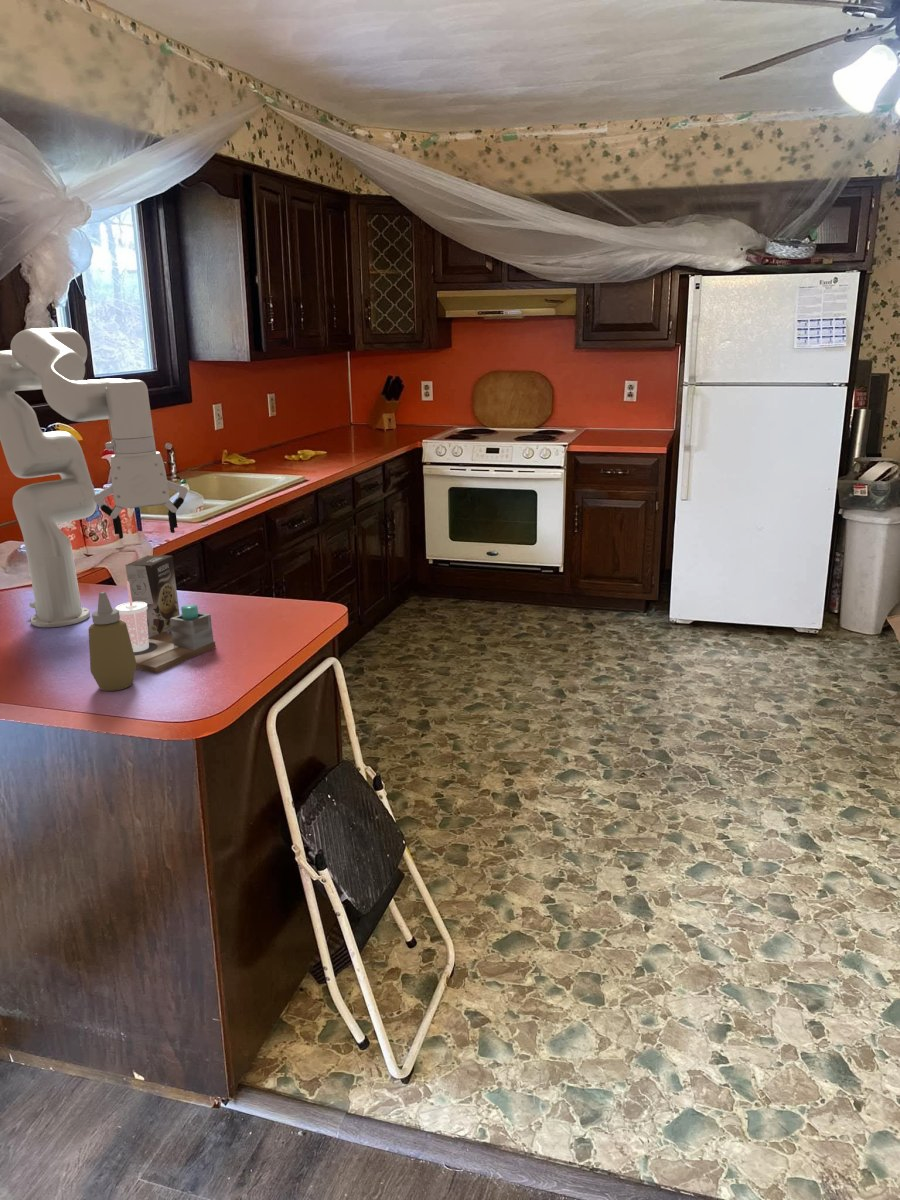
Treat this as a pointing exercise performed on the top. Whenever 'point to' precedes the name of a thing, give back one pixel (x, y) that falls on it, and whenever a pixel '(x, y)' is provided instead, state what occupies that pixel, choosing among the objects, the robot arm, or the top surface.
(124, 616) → the beverage cup
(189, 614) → the button
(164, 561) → the coffee box
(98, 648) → the squeeze bottle
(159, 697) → the top surface
